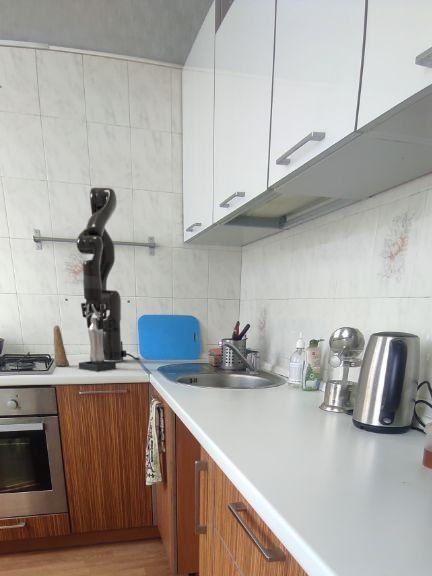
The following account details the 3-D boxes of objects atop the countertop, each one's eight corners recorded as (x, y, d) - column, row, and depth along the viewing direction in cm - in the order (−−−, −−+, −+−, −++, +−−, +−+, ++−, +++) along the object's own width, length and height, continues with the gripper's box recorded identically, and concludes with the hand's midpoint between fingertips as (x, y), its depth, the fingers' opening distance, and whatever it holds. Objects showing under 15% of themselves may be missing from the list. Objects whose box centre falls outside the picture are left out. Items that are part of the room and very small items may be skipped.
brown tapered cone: (68, 366, 220) (54, 366, 217) (62, 326, 215) (48, 326, 212) (70, 365, 214) (57, 366, 212) (64, 324, 210) (50, 325, 207)
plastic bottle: (92, 365, 208) (89, 318, 200) (88, 363, 213) (85, 317, 206) (106, 365, 210) (104, 318, 203) (102, 363, 216) (100, 317, 208)
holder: (98, 365, 220) (98, 360, 219) (116, 368, 214) (115, 362, 213) (79, 368, 211) (78, 362, 210) (96, 371, 205) (96, 365, 204)
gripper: (111, 288, 199) (113, 329, 205) (87, 287, 206) (90, 327, 212) (97, 287, 193) (100, 330, 199) (74, 286, 200) (77, 327, 207)
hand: (95, 328), depth 206 cm, fingers closed on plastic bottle, 6 cm apart
